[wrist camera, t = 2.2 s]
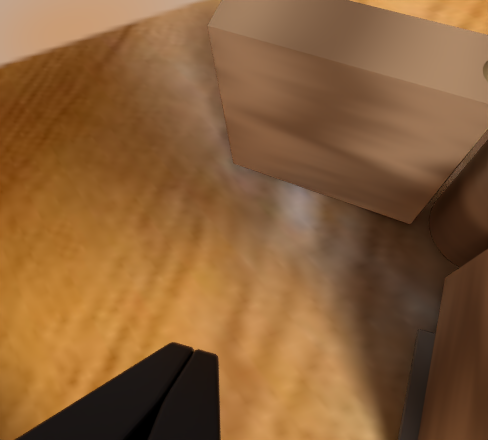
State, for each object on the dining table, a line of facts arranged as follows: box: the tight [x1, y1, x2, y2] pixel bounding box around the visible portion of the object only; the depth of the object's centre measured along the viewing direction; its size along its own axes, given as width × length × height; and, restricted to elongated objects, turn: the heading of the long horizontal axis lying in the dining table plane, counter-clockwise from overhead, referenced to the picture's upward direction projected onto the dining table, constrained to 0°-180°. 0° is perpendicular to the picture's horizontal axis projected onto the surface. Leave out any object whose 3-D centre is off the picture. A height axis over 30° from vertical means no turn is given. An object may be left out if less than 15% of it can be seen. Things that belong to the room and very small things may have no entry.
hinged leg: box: [207, 0, 488, 224], centre depth 17 cm, size 9×2×9 cm, turn 67°
